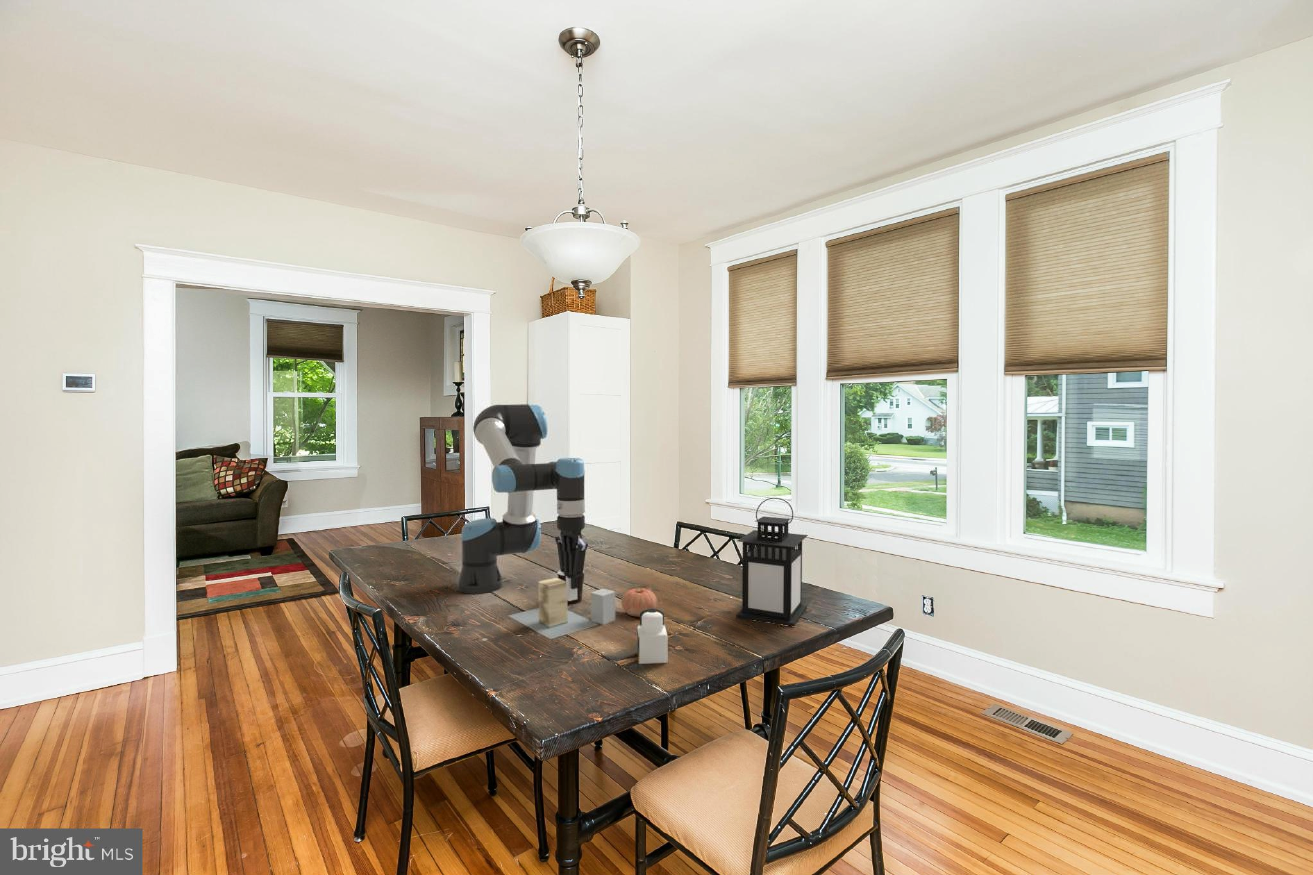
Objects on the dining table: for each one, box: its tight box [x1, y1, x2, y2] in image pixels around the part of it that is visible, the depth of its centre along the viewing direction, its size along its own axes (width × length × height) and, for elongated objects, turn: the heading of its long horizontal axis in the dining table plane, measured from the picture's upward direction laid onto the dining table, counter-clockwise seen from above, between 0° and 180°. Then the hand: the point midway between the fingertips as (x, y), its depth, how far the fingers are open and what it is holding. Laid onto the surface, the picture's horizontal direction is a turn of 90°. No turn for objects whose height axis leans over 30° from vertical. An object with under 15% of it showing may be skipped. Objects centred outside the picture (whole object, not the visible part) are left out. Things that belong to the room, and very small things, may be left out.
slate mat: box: [508, 607, 600, 640], centre depth 178 cm, size 24×16×1 cm, turn 41°
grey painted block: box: [590, 588, 616, 625], centre depth 178 cm, size 5×5×9 cm
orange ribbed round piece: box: [620, 587, 658, 618], centre depth 184 cm, size 11×11×8 cm
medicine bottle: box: [636, 608, 669, 665], centre depth 153 cm, size 7×7×12 cm
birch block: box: [537, 577, 569, 628], centre depth 176 cm, size 6×6×12 cm
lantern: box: [735, 497, 809, 627], centre depth 184 cm, size 17×17×35 cm
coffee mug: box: [557, 569, 586, 605], centre depth 197 cm, size 12×9×10 cm
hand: (571, 599), depth 168 cm, fingers closed
